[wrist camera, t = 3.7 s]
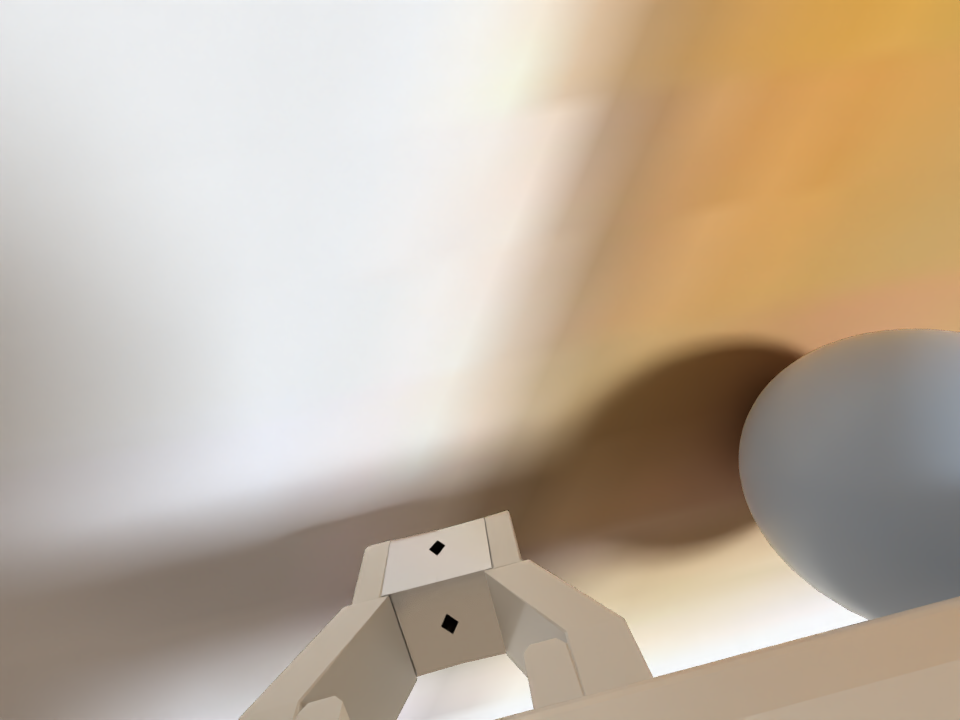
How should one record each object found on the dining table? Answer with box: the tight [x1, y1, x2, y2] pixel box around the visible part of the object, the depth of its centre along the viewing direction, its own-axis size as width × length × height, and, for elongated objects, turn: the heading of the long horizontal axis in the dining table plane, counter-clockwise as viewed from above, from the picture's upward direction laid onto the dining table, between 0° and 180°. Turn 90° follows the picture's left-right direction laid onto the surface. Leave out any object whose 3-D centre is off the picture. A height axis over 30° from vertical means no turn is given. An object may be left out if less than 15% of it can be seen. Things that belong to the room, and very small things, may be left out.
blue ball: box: [739, 329, 960, 620], centre depth 9 cm, size 6×6×6 cm
